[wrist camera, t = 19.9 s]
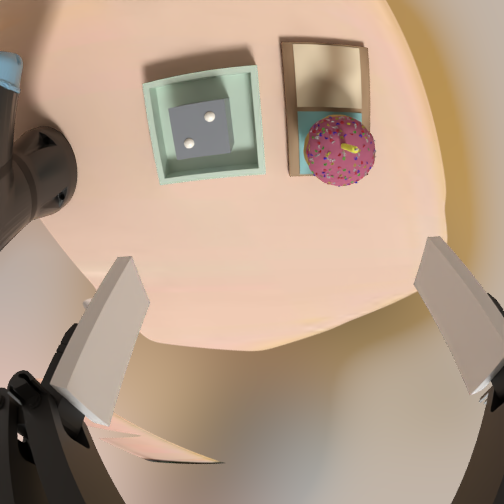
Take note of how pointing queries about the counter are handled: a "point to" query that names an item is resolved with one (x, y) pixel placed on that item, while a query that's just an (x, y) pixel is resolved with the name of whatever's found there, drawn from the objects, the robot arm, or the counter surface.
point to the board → (322, 90)
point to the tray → (197, 90)
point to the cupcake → (339, 150)
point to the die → (202, 128)
